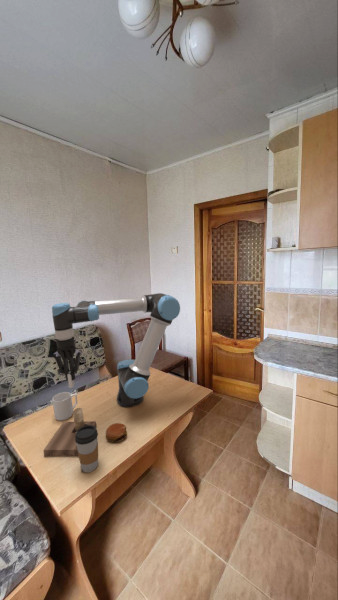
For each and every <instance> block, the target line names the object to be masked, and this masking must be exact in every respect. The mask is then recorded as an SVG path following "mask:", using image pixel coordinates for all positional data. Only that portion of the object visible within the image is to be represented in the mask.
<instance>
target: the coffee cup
mask: <svg viewBox="0 0 338 600" xmlns="http://www.w3.org/2000/svg"><path fill="white" fill-rule="evenodd" d="M98 436H99V432H98V429H97V427H95V426H93V425H86V426H83V427H81V428H79V429H78V430H77V432H76V435H75V442H76V444H77V451H78V456H77V457H78V460H79V464H80V469H81V471H83V472H84V473H91V472H93V471H95V470H96V469H97V467H98V465H99V441H98V439H99V438H98Z"/></svg>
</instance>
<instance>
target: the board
mask: <svg viewBox="0 0 338 600" xmlns="http://www.w3.org/2000/svg"><path fill="white" fill-rule="evenodd" d="M86 425H93V426H95V427H96V428H97V421H95V420H94V421H90V420H89V421H87V420H86V421H84V426H86ZM75 435H76V431H75V424H74V421H62V423H61V425H60V426H59V428H58V429H57V430H56V432H55V433H54V435H53V436H52V437H51V439H50V440H49V441H48V443H47V445H46V446H45V447H44V448H43V457H46V458H47V457H50V458H51V457H52V458H53V457H79V456H78V451H77V444H76V442H75Z"/></svg>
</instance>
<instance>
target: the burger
mask: <svg viewBox="0 0 338 600" xmlns="http://www.w3.org/2000/svg"><path fill="white" fill-rule="evenodd" d="M127 432H128V431H127V425H126V424H124V423H119V422H117V423H112V424H111V425H109V426H108V427H107V428H106V430H105V438H106V440H107V441H108V442H111V443H119V442H122V441H123V440H125V439H126V437H127V436H128V435H127V434H128V433H127Z"/></svg>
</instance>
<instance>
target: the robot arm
mask: <svg viewBox="0 0 338 600" xmlns="http://www.w3.org/2000/svg"><path fill="white" fill-rule="evenodd" d="M133 312H143V313H150V315H149V317H150V323H149V325H148V327H147V331H146V333H145V335H144V337H143V339H142V341H141V344H140V347H139V349H138V352H137V354H136V356H135V359H124V360H121V361H119V362H118V363H117V365H116V367H117V368H116V370H117V377H118V379H117V380H118V390H117V396H116V403H117V405H118V406H120V407H122V408H133V407H137V406H138V405H140V404H141V403H142V402H143V401H144V399H145V395H146V394H147V393H148V391H149V382H148V381H149V378H150V376H151V373H152V372H151V371H150V368H151V366H152V363H153V361H154V359H155V356H156V353H157V351H158V349H159V347H160V344H161V342H162V339H163V337H164V334H165V332H166V329H167V327H168V326H170V325H172V322H173V320H175V319H177V317H178V316H179V315H180V312H181V304H180V302H179V301H178V299H177V298H176V297H174V296H172V295H170V294H165V293H160V292H159V293H158V292H157V293H153V294H152V293H151V294H143V295H142V296H141V297H129V298H115V299H103V300H91V301H89V300H88V301H87V300H81V301H79V302H78V303H77V305H76V306H71V304H70V303H69V302H64V303H63V302H62V303H56V304H54V305H52V307H51V313H52V321H53V328H54V336H55V339H56V342H55V343H56V347H57V350H56V351H55V352H54V353H52V357H53V359H54V360H55V362H56V364H57V367H58V369H59V372H60V373H61V374H64V375H65V380H66V381H67V382H68V388H69V389H71V388H74V386H75V379H76V374H75V373H77V372H78V371H79V370H80V369H79V368H80V362H81V359H80V358H81V355H82V353H83V352H82V350H78V349H77V346H76V341H75V337H74V335H75V334H74V333H75V332H74V328H73V324H79V323H81V324H82V323H88V322H89V323H90V322H94V321H98V320H99V319H100V316H101V315H102V316H104V315H112V314H123V313H124V314H125V313H133ZM74 356H75V360H74Z"/></svg>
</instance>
